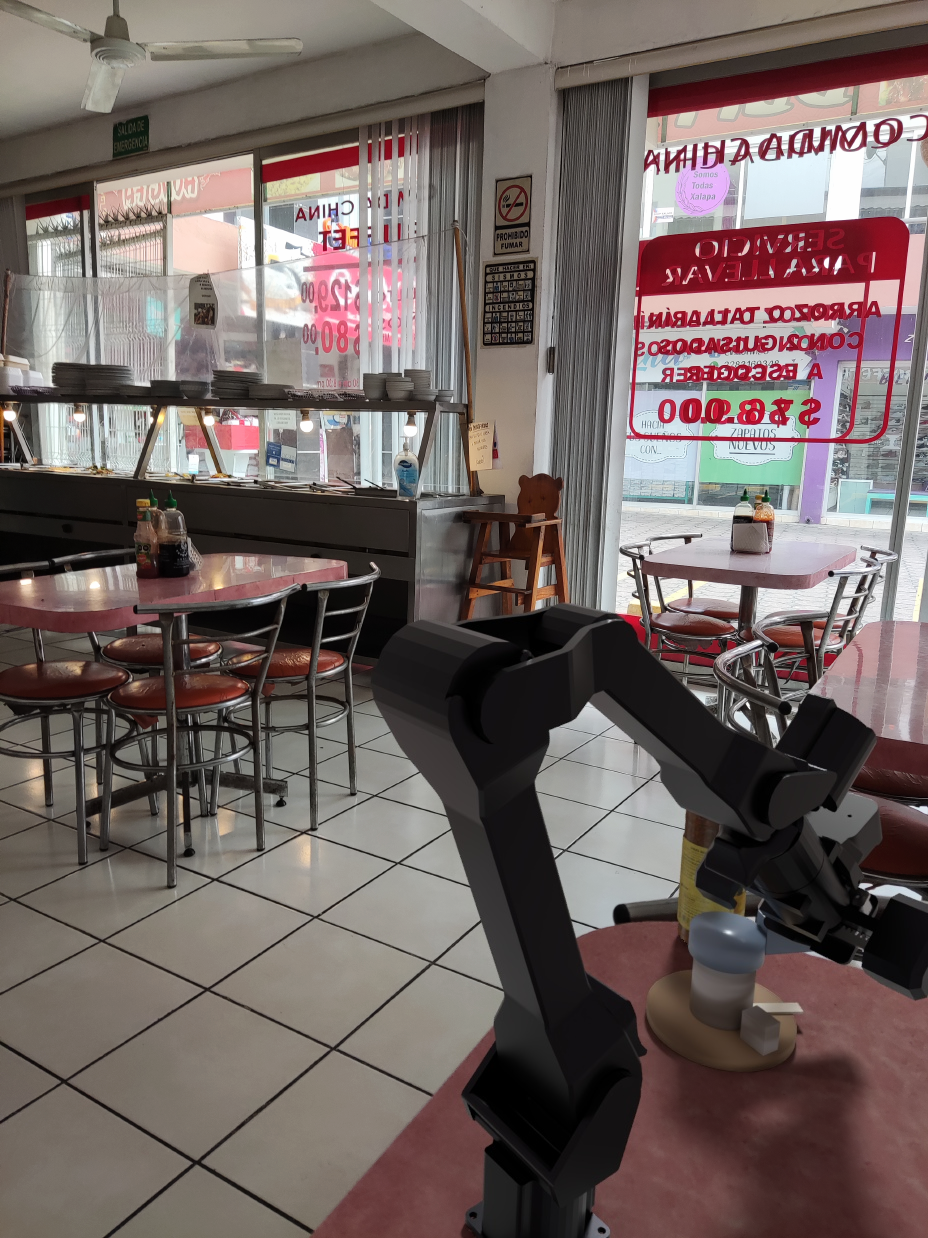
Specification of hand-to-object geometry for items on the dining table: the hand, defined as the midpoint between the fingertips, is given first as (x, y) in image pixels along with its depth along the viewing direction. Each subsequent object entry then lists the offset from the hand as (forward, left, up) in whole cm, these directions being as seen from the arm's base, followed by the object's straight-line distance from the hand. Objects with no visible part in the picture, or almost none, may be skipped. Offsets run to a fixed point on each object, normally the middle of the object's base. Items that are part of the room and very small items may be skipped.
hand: (844, 950), depth 73 cm
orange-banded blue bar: (-4, +4, -1) cm, 6 cm away
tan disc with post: (-7, +6, -7) cm, 12 cm away
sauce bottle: (+3, +15, -7) cm, 17 cm away
